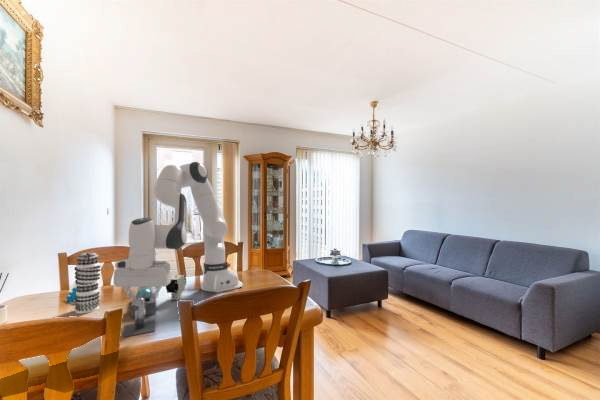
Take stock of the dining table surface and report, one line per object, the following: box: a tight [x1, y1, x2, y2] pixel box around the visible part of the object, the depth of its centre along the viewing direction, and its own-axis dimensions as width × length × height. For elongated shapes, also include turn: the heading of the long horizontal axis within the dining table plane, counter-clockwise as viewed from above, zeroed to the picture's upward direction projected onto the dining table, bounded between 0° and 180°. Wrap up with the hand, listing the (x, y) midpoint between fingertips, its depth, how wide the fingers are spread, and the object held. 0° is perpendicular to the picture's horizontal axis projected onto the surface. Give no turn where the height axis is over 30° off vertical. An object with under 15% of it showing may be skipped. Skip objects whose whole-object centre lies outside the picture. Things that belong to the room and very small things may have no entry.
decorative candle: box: [73, 251, 101, 314], centre depth 121 cm, size 9×9×25 cm
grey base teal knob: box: [130, 287, 157, 319], centre depth 123 cm, size 9×29×7 cm, turn 29°
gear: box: [65, 285, 77, 303], centre depth 133 cm, size 11×6×10 cm
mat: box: [122, 319, 156, 338], centre depth 104 cm, size 10×10×1 cm
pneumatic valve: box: [165, 274, 187, 301], centre depth 135 cm, size 6×12×12 cm, turn 178°
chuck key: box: [132, 297, 147, 330], centre depth 104 cm, size 7×3×11 cm, turn 174°
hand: (143, 297), depth 104 cm, fingers open, 8 cm apart
